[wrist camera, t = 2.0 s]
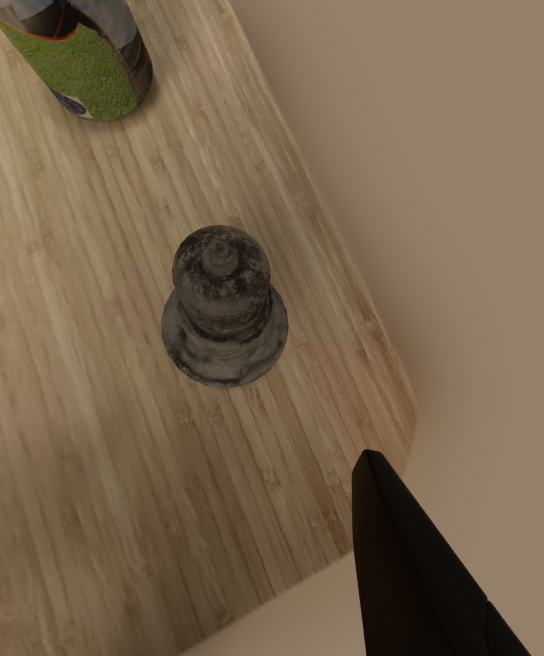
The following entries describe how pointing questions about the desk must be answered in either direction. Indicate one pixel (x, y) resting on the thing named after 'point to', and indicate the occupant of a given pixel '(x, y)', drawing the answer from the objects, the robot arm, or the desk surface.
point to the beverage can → (82, 53)
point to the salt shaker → (223, 309)
